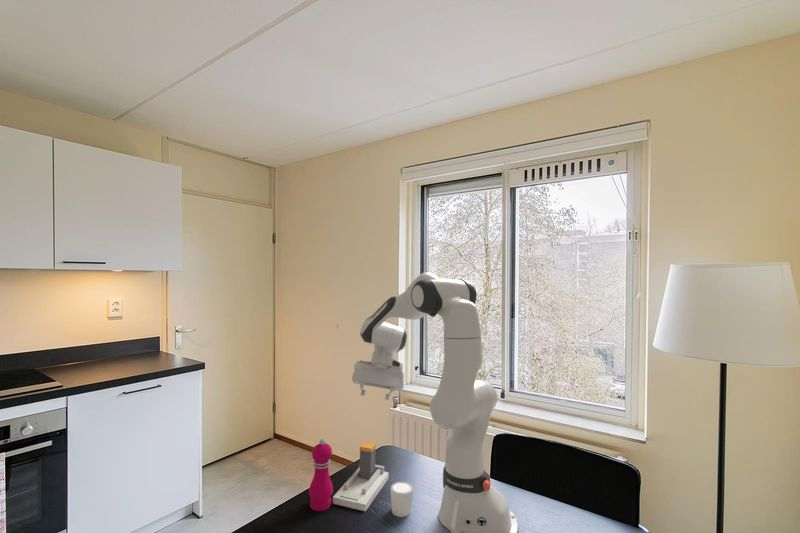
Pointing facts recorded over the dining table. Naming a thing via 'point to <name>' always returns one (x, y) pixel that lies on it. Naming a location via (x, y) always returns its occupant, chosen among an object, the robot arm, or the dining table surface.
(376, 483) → the white slider switch base
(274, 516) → the dining table surface
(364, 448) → the plate
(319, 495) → the pepper mill
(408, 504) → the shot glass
